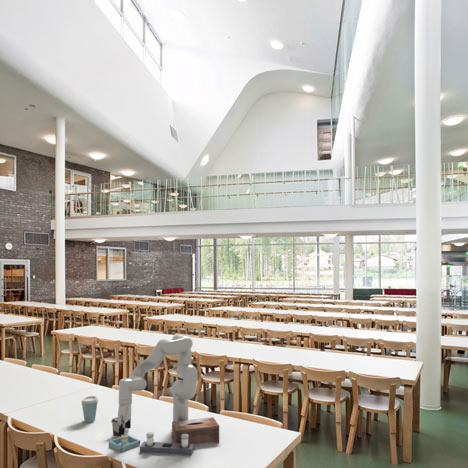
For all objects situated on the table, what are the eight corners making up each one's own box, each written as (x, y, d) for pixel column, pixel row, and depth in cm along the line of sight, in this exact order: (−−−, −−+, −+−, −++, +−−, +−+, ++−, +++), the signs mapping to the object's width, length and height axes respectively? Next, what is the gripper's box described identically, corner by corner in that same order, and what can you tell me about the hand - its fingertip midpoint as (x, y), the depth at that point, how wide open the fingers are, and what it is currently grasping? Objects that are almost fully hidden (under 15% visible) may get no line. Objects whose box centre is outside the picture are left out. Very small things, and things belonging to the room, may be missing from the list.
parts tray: (127, 440, 252) (127, 434, 253) (140, 446, 244) (140, 440, 244) (108, 447, 243) (108, 441, 243) (120, 453, 235) (121, 447, 235)
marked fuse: (125, 443, 246) (126, 427, 247) (129, 445, 244) (129, 429, 244) (119, 445, 244) (120, 429, 244) (123, 447, 241) (123, 431, 241)
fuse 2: (185, 449, 238) (185, 433, 239) (189, 451, 235) (190, 435, 236) (179, 451, 235) (179, 435, 236) (184, 454, 232) (184, 437, 233)
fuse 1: (150, 447, 240) (150, 431, 241) (154, 449, 237) (155, 433, 238) (144, 450, 237) (145, 433, 238) (149, 452, 235) (149, 435, 235)
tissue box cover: (213, 433, 264) (213, 417, 264) (219, 443, 250) (219, 425, 251) (171, 438, 256) (172, 421, 257) (175, 448, 242) (176, 430, 243)
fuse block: (139, 454, 234) (139, 446, 235) (143, 448, 241) (144, 441, 242) (191, 457, 231) (191, 449, 231) (194, 451, 238) (194, 443, 238)
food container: (134, 434, 262) (134, 417, 263) (128, 438, 256) (129, 421, 257) (116, 432, 266) (116, 415, 266) (110, 435, 260) (111, 419, 260)
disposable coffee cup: (92, 424, 278) (92, 401, 279) (77, 423, 280) (78, 400, 281) (100, 418, 289) (101, 396, 290) (86, 417, 291) (86, 395, 292)
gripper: (124, 396, 254) (124, 425, 253) (113, 405, 237) (112, 437, 236) (136, 396, 254) (136, 425, 252) (126, 406, 236) (125, 437, 235)
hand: (124, 431), depth 244 cm, fingers open, 9 cm apart
